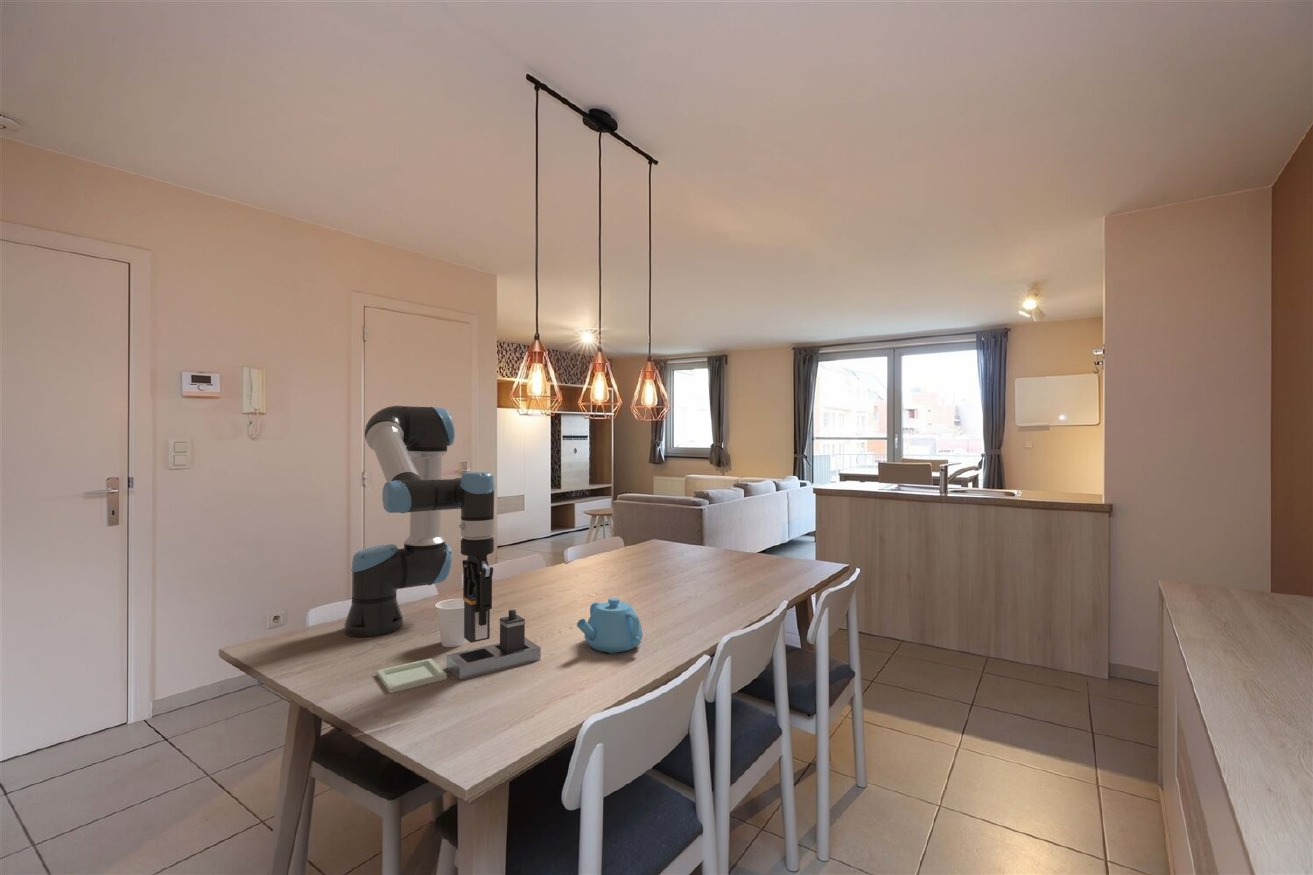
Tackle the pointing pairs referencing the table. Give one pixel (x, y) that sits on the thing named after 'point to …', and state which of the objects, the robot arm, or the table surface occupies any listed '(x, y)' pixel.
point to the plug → (472, 618)
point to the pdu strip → (490, 659)
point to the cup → (451, 622)
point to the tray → (411, 675)
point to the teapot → (612, 627)
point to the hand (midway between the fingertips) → (476, 635)
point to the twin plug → (512, 633)
